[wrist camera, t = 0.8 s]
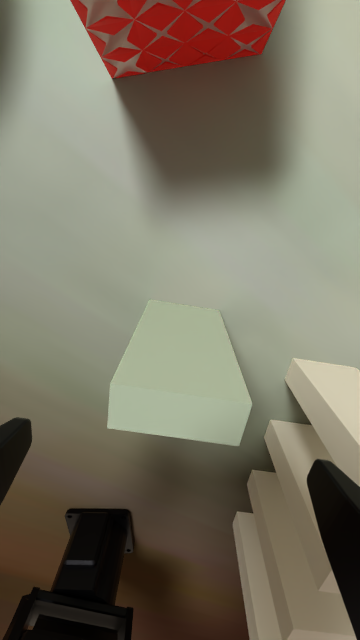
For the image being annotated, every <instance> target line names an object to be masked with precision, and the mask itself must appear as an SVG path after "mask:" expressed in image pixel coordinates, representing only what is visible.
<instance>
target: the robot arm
mask: <svg viewBox="0 0 360 640" xmlns="http://www.w3.org/2000/svg"><path fill="white" fill-rule="evenodd" d="M31 443H32V430H31V421H30V420H29V419H26V418H19V417H17V418H13V419H12V420H10V421H8V422H6V423H4V424H3V425H1V426H0V505H1V503H2V501H3V499H4V498H5V496H6V494H7V492H8V490H9V488H10V486H11V484H12V482H13V480H14V478H15V476H16V474H17V472H18V470H19V468H20V466H21V464H22V462H23V460H24V458H25V456H26V454H27V452H28V450H29V448H30V446H31ZM307 486H308V490H309V494H310V498H311V502H312V505H313V509H314V513H315V517H316V521H317V524H318V528H319V532H320V535H321V539H322V542H323V545H324V548H325V551H326V554H327V557H328V560H329V562H330V565H331V568H332V571H333V574H334V576H335V579H336V582H337V585H338V588H339V591H340V593H341V596H342V599H343V602H344V605H345V608H346V610H347V613H348V616H349V619H350V622H351V624H352V627H353V630H354V633H355V636H356V639H357V640H360V487H359V486H358V485H357V484H356V483H355V482H354V481H353V480H352V479H350V478H349V477H348V476H347V475H346V474H345V473H344V472H342V471H341V470H340V469H339V468H338V467H337V466H336V465H335V464H333V463H332V462H331V461H329V460H324V459H316V460H315V461H314V462H313V465H312V467H311V469H310V471H309V473H308V475H307ZM65 518H66V522H67V526H68V529H69V533H70V539H69V542H68V544H67V547H66V550H65V552H64V555H63V558H62V561H61V563H60V566H59V569H58V571H57V574H56V577H55V580H54V582H53V585H52V588H51V590H50V592H49V591H45V590H40V588H38V587H33V589H32V592H31V594H29V595H25V596H22V599H21V601H20V603H19V605H18V608H17V610H16V612H15V615H14V617H13V619H12V621H11V623H10V626H9V628H8V630H7V632H6V634H5V636H4V638H3V640H131V632H132V620H133V608H131V607H127V608H124V607H119V606H115V600H116V595H117V589H118V584H119V579H120V573H121V568H122V563H123V557H124V553H132V552H133V549H134V543H133V536H132V529H131V521H130V514H129V512H128V511H126V510H84V509H69V510H67V512H66V514H65ZM29 625H31V626H34V628H33V630H27V629H28V626H29Z"/></svg>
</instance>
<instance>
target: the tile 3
mask: <svg viewBox="0 0 360 640" xmlns="http://www.w3.org/2000/svg"><path fill="white" fill-rule="evenodd" d="M264 439H265V442H266V445H267V448H268V450H269V453H270V456H271V459H272V462H273V465H274V467H275V470H276V473H277V476H278V479H279V482H280V484H281V487H282V490H283V493H284V496H285V499H286V501H287V504H288V507H289V510H290V513H291V516H292V519H293V521H294V524H295V527H296V530H297V533H298V536H299V538H300V541H301V544H302V547H303V550H304V553H305V555H306V558H307V561H308V564H309V567H310V570H311V572H312V575H313V578H314V581H315V584H316V587H317V589H318V591H322V592H330V593H338V594H341V593H340V591H339V588H338V585H337V582H336V579H335V576H334V574H333V571H332V568H331V565H330V562H329V560H328V557H327V554H326V551H325V548H324V545H323V542H322V539H321V535H320V532H319V528H318V524H317V521H316V517H315V513H314V509H313V505H312V502H311V498H310V494H309V490H308V486H307V475H308V473H309V471H310V469H311V467H312V465H313V462H314V461H315V460H316V459H324V460H329V461H331V462H332V463H333V464H335V465H336V463H335V462H334V460H333V459H332V457H331V455H330V454H329V452H328V450H327V449H326V447H325V445H324V444H323V442H322V440H321V439H320V437H319V436H318V434H317V432H316V431H315V429H314V427H313V426H312V425H306V424H299V423H292V422H285V421H278V420H271V419H270V421H269V424H268V427H267V430H266V432H265V435H264ZM336 466H337V465H336Z"/></svg>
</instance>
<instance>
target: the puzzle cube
mask: <svg viewBox="0 0 360 640" xmlns="http://www.w3.org/2000/svg"><path fill="white" fill-rule="evenodd" d="M285 1H286V0H71V2H72V4H73V6H74V8H75V10H76V12H77V14H78V15H79V17H80V19H81V21H82V23H83V25H84V27H85V29H86V31H87V32H88V34H89V36H90V38H91V40H92V42H93V44H94V46H95V47H96V49H97V51H98V53H99V55H100V57H101V59H102V61H103V63H104V64H105V66H106V68H107V70H108V72H109V74H110V76H111V78H112V79H113V78H114V77H116V78H120V77H126V76H132V75H138V74H145V73H144V72H150V71H151V72H154V71H160V70H166V69H172V68H178V67H184V66H190V65H196V64H203V63H209V62H215V61H221V60H227V59H233V58H239V57H245V56H252V55H258V54H262V52H263V50H264V47H265V45H266V43H267V41H268V38H269V36H270V34H271V32H272V30H273V27H274V25H275V23H276V21H277V18H278V16H279V14H280V12H281V10H282V7H283V5H284V3H285Z"/></svg>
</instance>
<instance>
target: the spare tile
mask: <svg viewBox="0 0 360 640" xmlns="http://www.w3.org/2000/svg"><path fill="white" fill-rule="evenodd" d="M251 407H252V401H251V399H250V396H249V393H248V390H247V387H246V385H245V382H244V379H243V376H242V373H241V370H240V368H239V365H238V362H237V359H236V356H235V353H234V351H233V348H232V345H231V342H230V339H229V337H228V334H227V331H226V328H225V325H224V322H223V320H222V317H221V314H220V311H219V310H214V309H208V308H201V307H195V306H189V305H182V304H176V303H170V302H163V301H157V300H149V302H148V304H147V306H146V308H145V310H144V313H143V315H142V317H141V319H140V321H139V323H138V325H137V327H136V330H135V332H134V334H133V336H132V338H131V340H130V342H129V345H128V347H127V349H126V351H125V353H124V355H123V357H122V359H121V362H120V364H119V366H118V368H117V370H116V372H115V374H114V377H113V379H112V381H111V383H110V395H109V410H108V425H107V428H111V429H118V430H125V431H133V432H140V433H147V434H154V435H161V436H168V437H175V438H183V439H190V440H197V441H204V442H211V443H218V444H225V445H233V446H239V444H240V441H241V438H242V435H243V432H244V429H245V426H246V423H247V420H248V416H249V413H250V410H251Z"/></svg>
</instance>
